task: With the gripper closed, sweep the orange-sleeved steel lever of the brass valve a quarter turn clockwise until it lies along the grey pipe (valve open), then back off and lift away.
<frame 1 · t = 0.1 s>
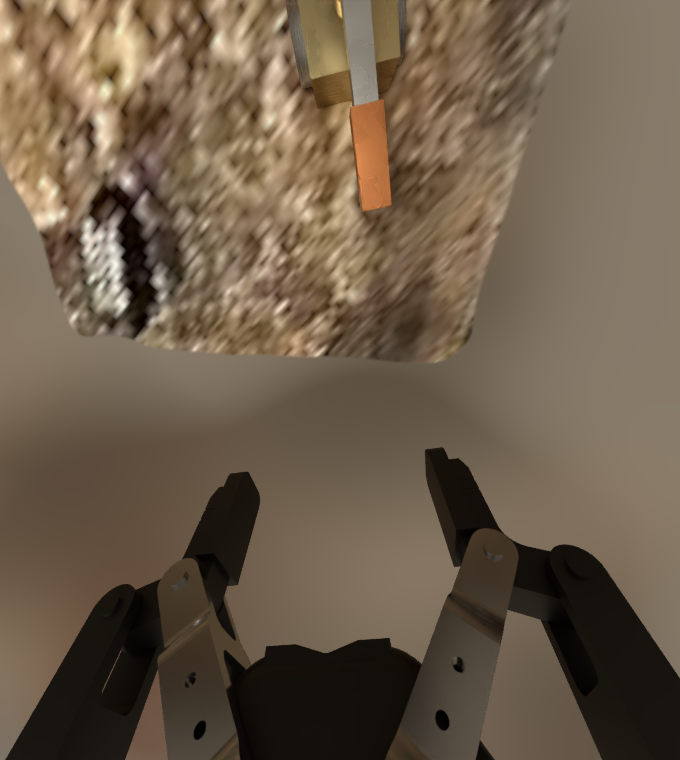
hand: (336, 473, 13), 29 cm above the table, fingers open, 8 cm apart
valve lever: (363, 82, 19), point 12 cm above the table, hinge at 0.0°
valve housing: (345, 48, 26), on the table
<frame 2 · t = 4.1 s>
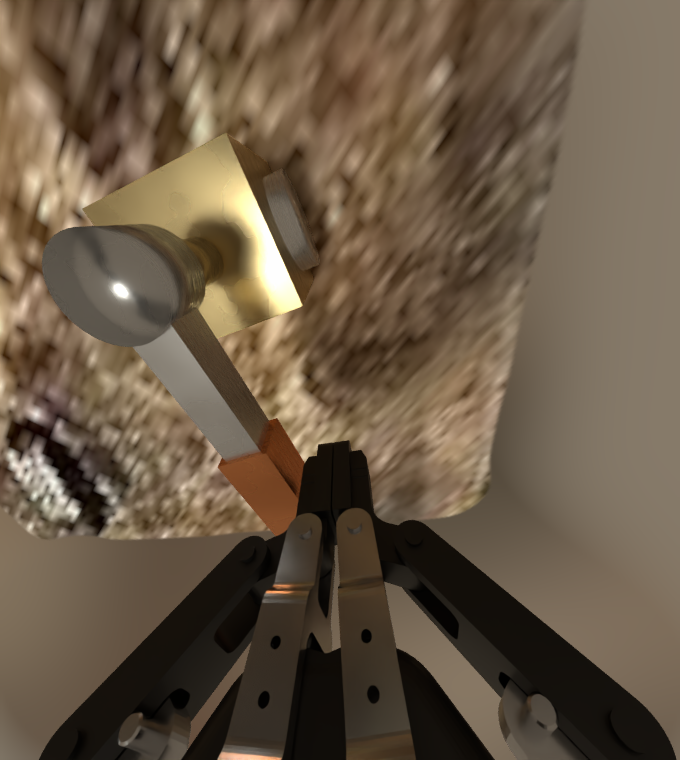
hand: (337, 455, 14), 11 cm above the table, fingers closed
valve lever: (233, 418, 12), point 12 cm above the table, hinge at 0.0°, touching gripper
valve housing: (245, 246, 19), on the table
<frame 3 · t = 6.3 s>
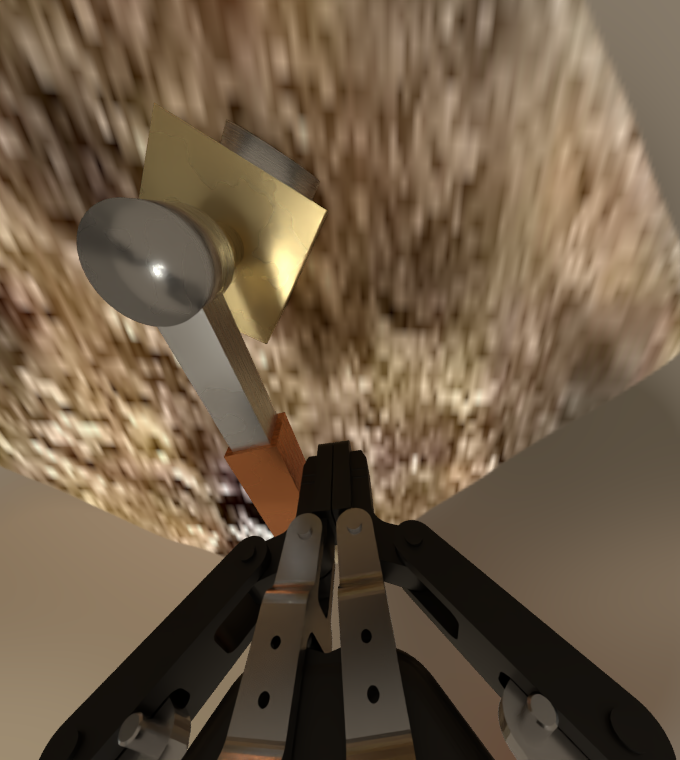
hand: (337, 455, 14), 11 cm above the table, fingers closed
valve lever: (244, 409, 11), point 12 cm above the table, hinge at 47.9°, touching gripper
valve housing: (257, 236, 19), on the table
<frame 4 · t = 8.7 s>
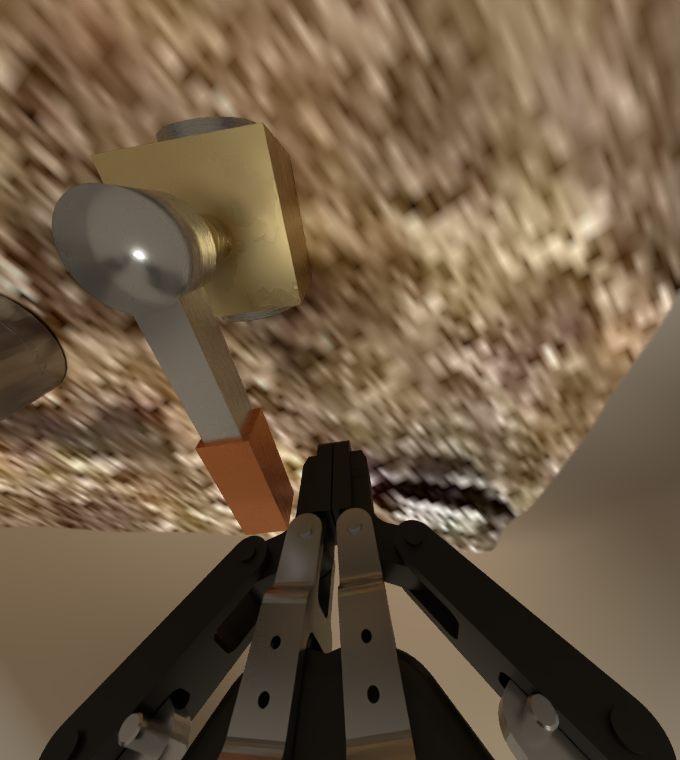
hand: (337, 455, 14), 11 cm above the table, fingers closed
valve lever: (219, 402, 11), point 12 cm above the table, hinge at 88.5°
valve housing: (250, 230, 19), on the table
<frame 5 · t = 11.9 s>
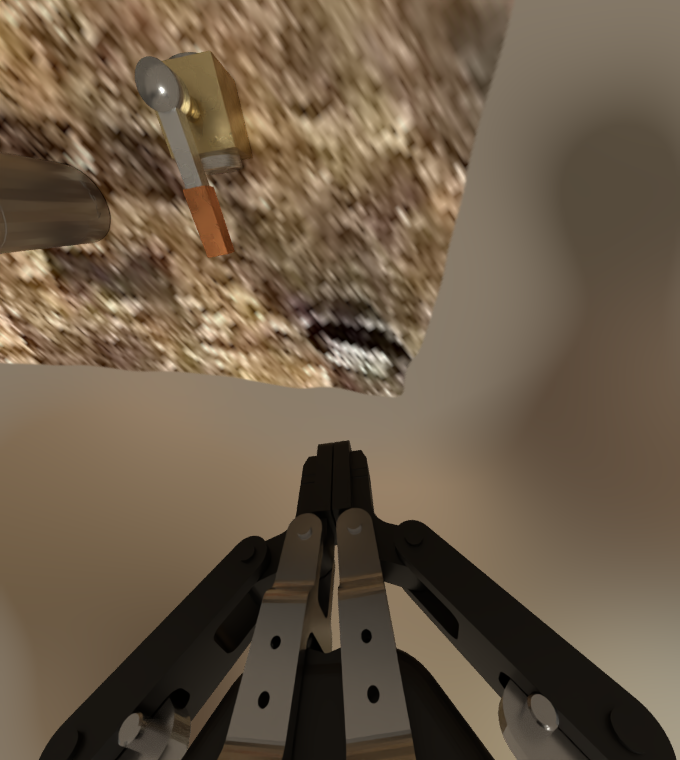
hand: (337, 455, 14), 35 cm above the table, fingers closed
valve lever: (192, 172, 27), point 12 cm above the table, hinge at 88.5°
valve housing: (216, 127, 34), on the table
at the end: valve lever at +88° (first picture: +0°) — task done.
